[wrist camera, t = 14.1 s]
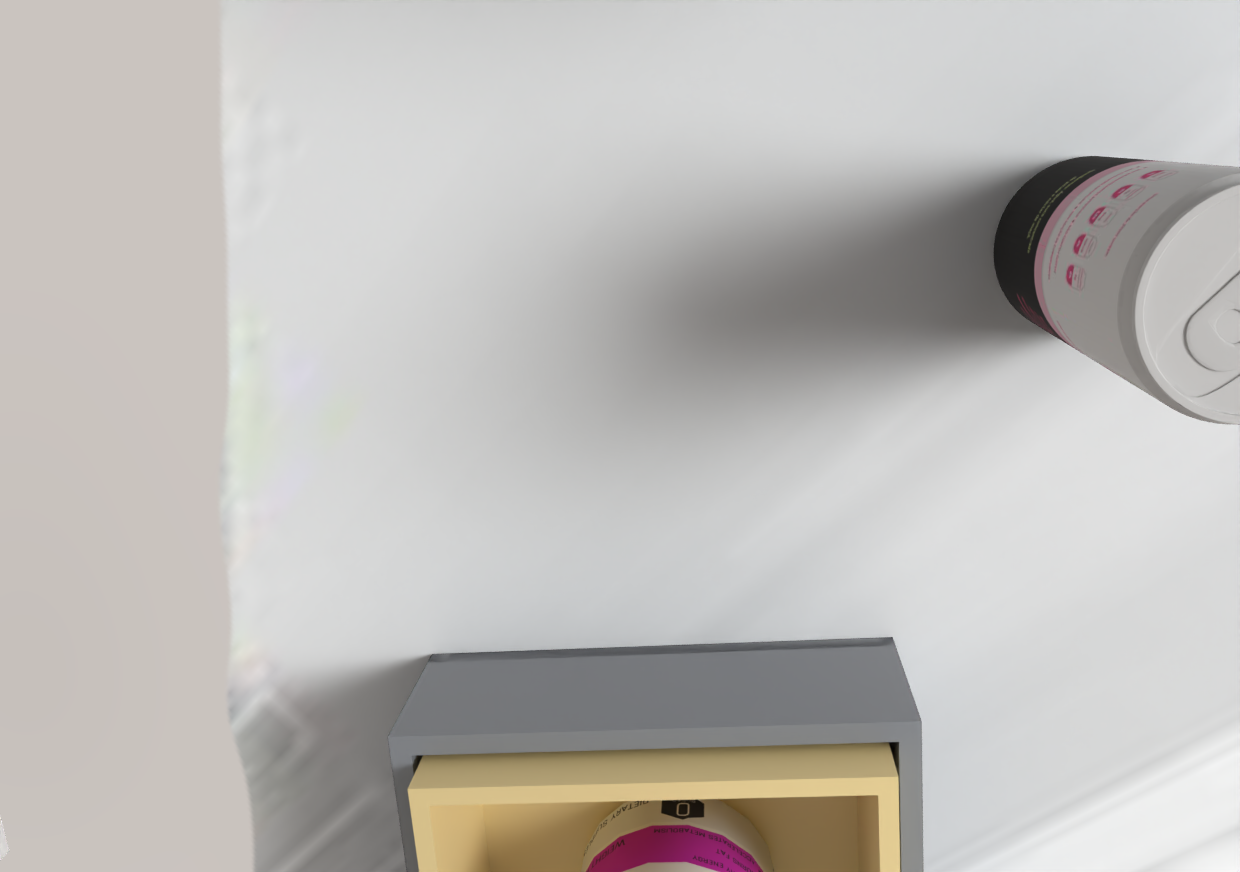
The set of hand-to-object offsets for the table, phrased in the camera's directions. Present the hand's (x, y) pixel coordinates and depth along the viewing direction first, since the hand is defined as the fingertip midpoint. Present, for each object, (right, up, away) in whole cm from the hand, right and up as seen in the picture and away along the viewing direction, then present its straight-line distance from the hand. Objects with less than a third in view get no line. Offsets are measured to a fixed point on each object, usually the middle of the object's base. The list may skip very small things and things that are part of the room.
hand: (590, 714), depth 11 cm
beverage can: (+18, +10, +32) cm, 38 cm away
